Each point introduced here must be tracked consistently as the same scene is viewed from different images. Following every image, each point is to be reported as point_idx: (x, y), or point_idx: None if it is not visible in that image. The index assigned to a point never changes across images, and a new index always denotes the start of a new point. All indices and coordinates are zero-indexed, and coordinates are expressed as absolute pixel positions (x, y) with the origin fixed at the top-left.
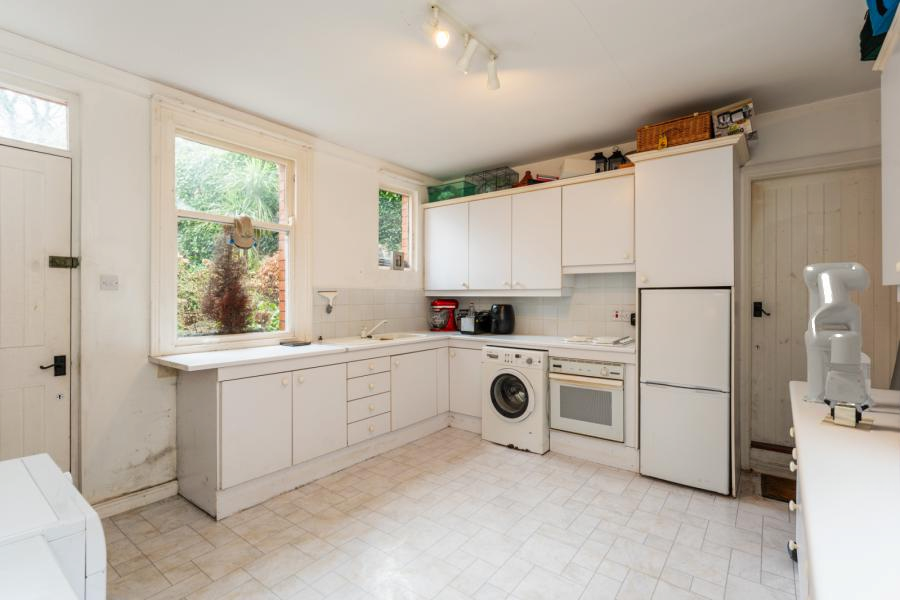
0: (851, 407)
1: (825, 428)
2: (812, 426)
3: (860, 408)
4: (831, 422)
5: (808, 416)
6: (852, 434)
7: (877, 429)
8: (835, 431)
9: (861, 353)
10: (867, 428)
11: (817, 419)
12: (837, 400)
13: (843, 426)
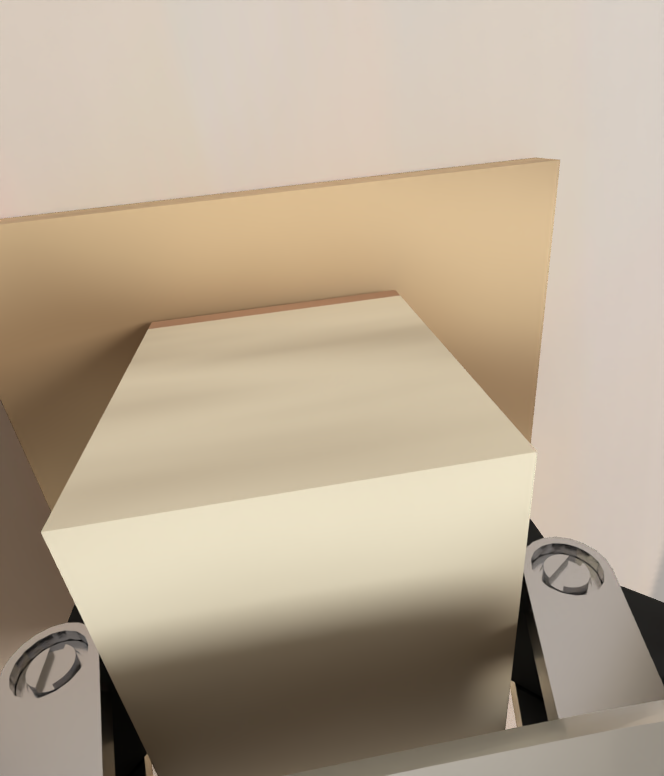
0: (205, 682)
1: (468, 102)
2: (625, 68)
3: (13, 722)
4: None
5: (634, 560)
6: (98, 19)
7: (56, 592)
8: (329, 5)
9: None
10: (49, 437)
11: (564, 516)
12: (576, 731)
13: (283, 279)
